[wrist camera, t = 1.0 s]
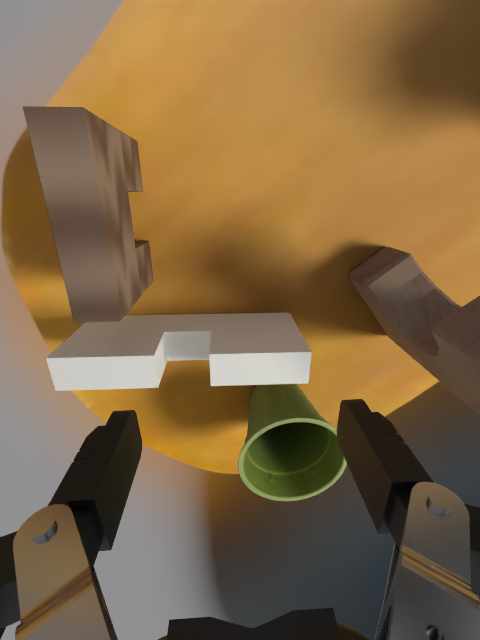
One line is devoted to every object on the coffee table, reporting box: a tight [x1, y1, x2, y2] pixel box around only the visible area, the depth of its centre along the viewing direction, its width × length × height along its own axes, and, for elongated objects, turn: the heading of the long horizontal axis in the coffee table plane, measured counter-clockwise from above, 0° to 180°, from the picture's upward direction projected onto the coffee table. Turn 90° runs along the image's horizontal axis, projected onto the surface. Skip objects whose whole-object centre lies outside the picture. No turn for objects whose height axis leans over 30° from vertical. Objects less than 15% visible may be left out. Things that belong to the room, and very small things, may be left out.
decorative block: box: [349, 247, 480, 415], centre depth 27 cm, size 11×6×20 cm, turn 37°
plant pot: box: [238, 384, 347, 501], centre depth 36 cm, size 12×12×11 cm
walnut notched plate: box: [23, 107, 153, 322], centre depth 26 cm, size 14×4×12 cm, turn 0°
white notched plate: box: [46, 313, 312, 391], centre depth 32 cm, size 4×24×10 cm, turn 90°
